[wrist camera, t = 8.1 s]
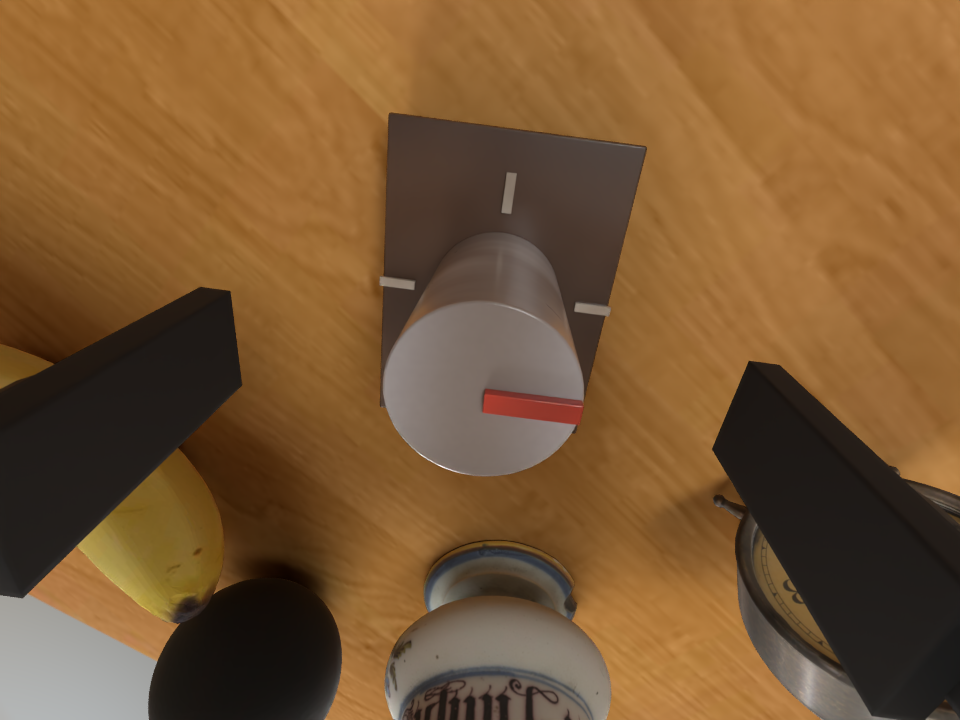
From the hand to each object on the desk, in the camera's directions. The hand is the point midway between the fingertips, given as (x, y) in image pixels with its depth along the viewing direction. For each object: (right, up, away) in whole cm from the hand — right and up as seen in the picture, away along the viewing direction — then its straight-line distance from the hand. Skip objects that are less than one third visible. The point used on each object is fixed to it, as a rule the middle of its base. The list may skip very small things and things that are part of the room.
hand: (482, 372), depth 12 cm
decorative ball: (-13, -16, +20) cm, 29 cm away
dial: (0, +3, +7) cm, 7 cm away
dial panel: (+1, +4, +9) cm, 10 cm away
